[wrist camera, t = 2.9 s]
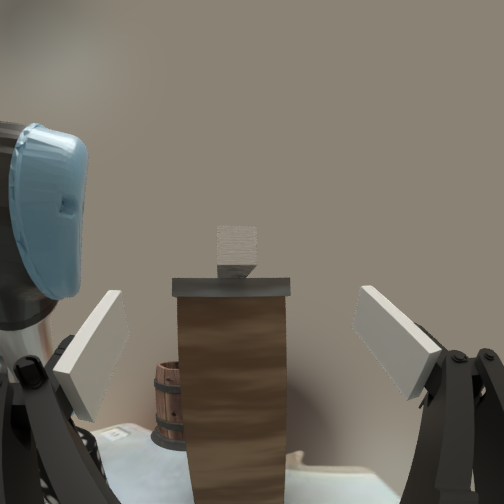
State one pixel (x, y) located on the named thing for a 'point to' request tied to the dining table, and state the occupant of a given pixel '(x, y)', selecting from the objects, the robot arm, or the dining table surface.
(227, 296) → the column
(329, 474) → the dining table surface
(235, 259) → the bar
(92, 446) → the white-spotted black cylinder
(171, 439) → the tankard
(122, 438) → the dining table surface
